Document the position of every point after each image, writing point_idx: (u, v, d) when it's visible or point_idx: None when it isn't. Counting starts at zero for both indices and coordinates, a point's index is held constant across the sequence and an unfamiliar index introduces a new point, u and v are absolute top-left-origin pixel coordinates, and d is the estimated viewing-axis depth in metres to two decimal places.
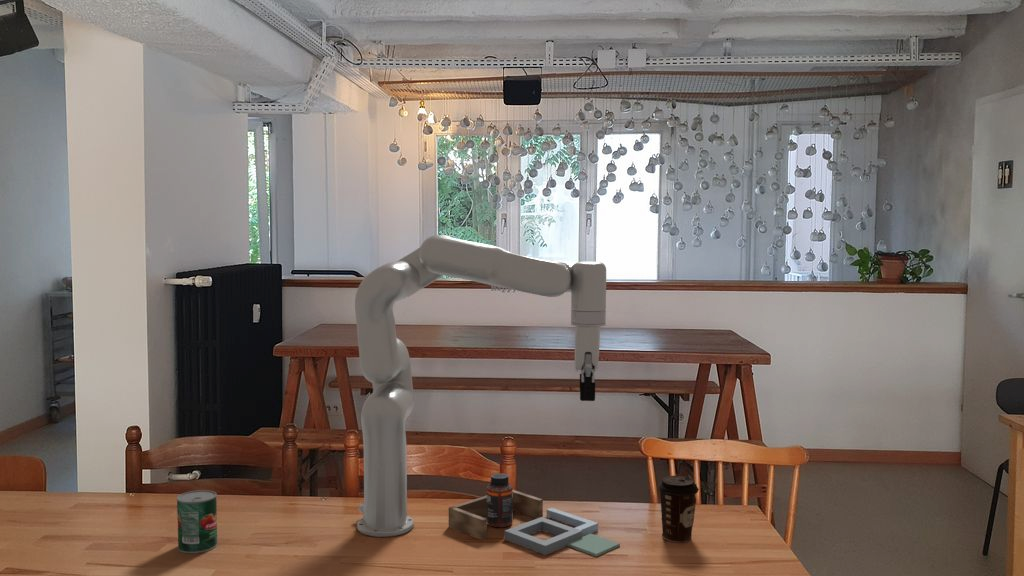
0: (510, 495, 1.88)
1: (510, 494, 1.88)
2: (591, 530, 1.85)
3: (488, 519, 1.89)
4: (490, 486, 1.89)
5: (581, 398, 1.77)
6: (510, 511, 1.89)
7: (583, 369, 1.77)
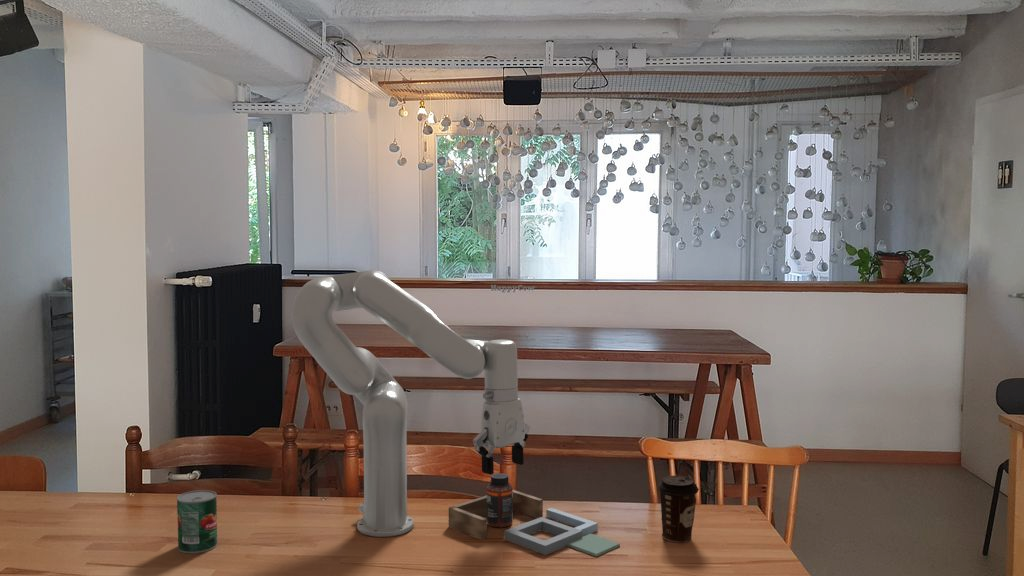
0: (510, 495, 1.88)
1: (510, 494, 1.88)
2: (591, 530, 1.85)
3: (488, 519, 1.89)
4: (490, 486, 1.89)
5: None
6: (510, 511, 1.89)
7: None
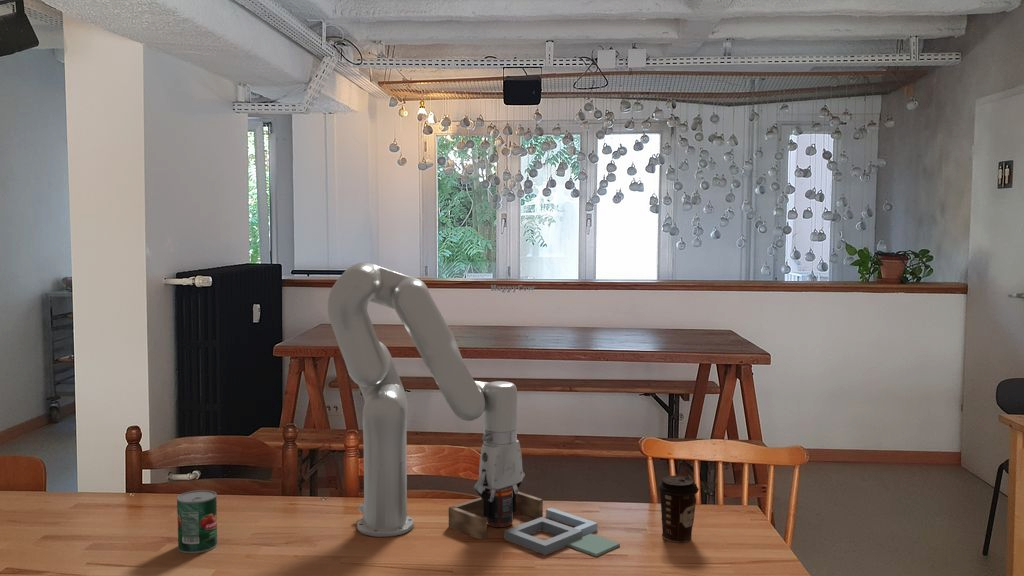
0: (510, 495, 1.88)
1: (510, 494, 1.88)
2: (590, 530, 1.85)
3: (488, 519, 1.89)
4: None
5: None
6: (510, 511, 1.89)
7: None
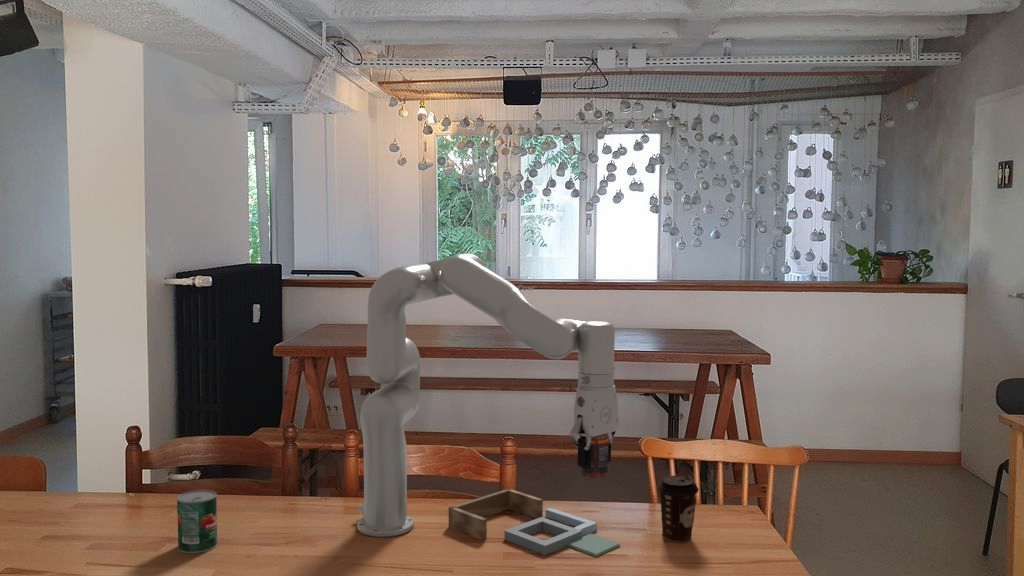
0: (607, 443, 1.74)
1: (607, 442, 1.74)
2: (590, 530, 1.85)
3: (582, 469, 1.75)
4: None
5: None
6: (607, 460, 1.75)
7: None
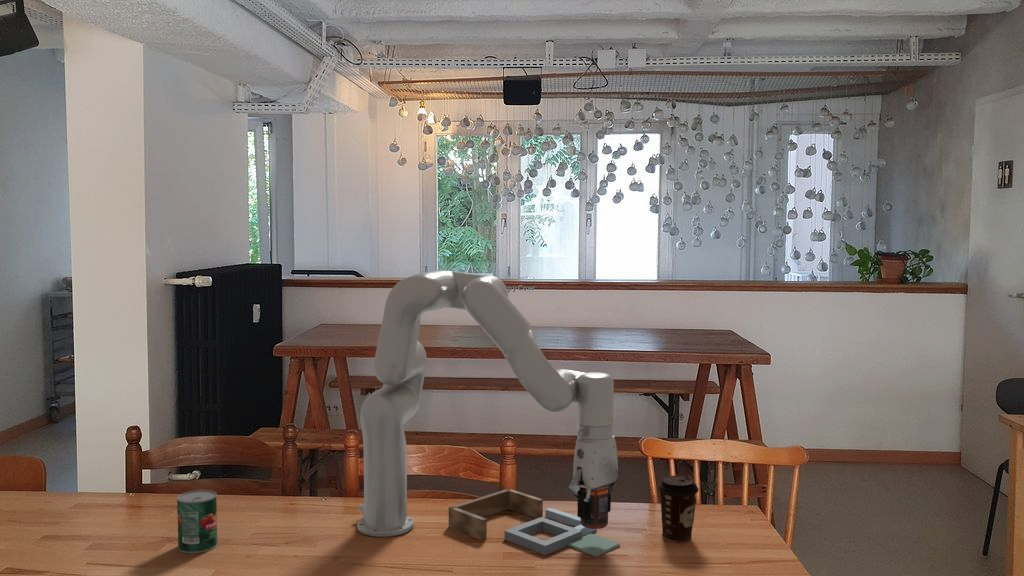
0: (606, 494, 1.75)
1: (606, 493, 1.75)
2: (590, 530, 1.85)
3: (582, 520, 1.76)
4: None
5: None
6: (607, 511, 1.76)
7: None
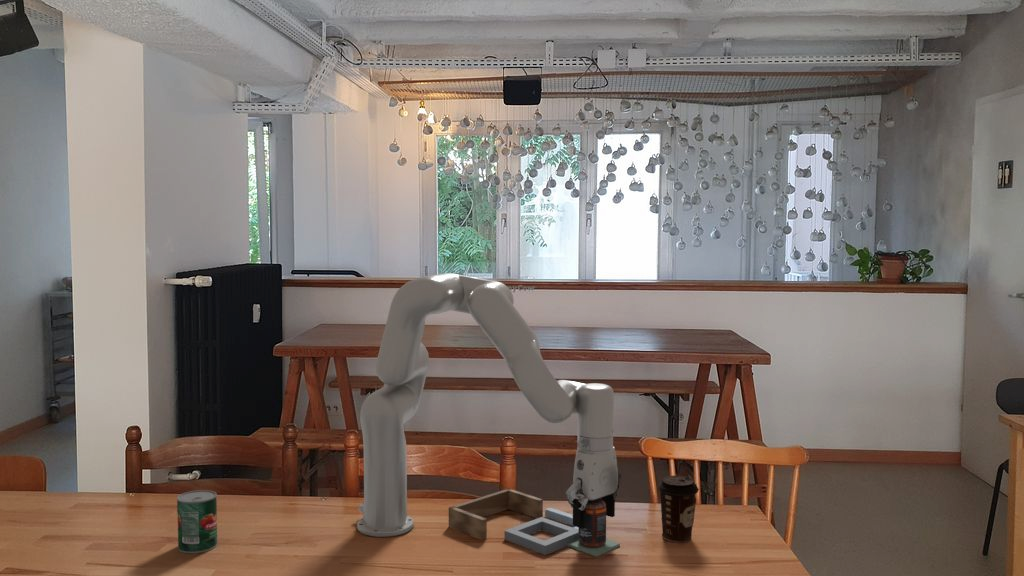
0: (604, 512, 1.76)
1: (604, 511, 1.76)
2: None
3: (581, 538, 1.76)
4: None
5: None
6: (605, 529, 1.76)
7: None
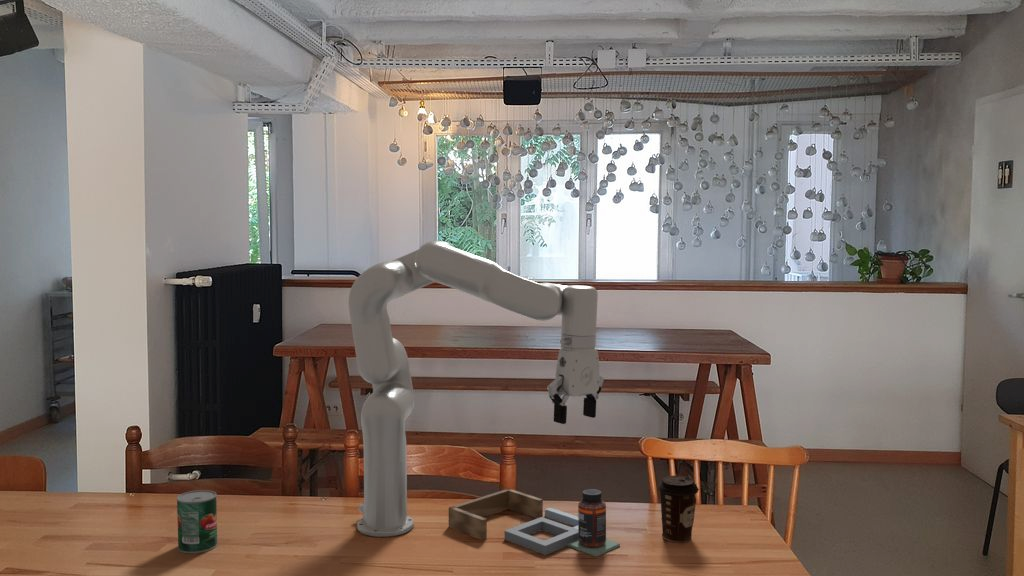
0: (604, 512, 1.76)
1: (604, 511, 1.76)
2: None
3: (581, 539, 1.76)
4: (583, 503, 1.76)
5: None
6: (605, 529, 1.76)
7: None
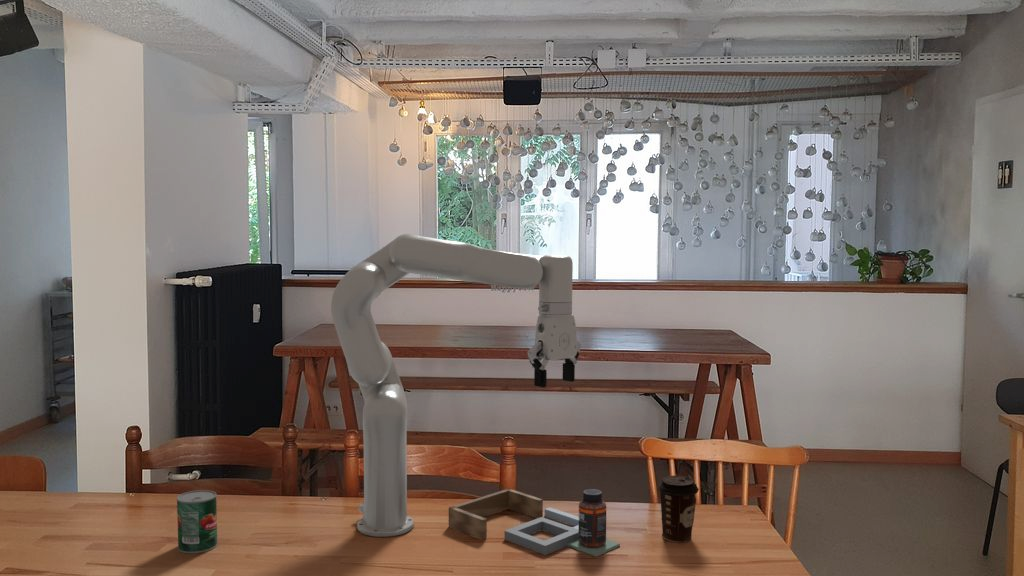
0: (605, 512, 1.76)
1: (605, 511, 1.76)
2: None
3: (581, 538, 1.76)
4: (583, 503, 1.76)
5: None
6: (605, 529, 1.76)
7: None
